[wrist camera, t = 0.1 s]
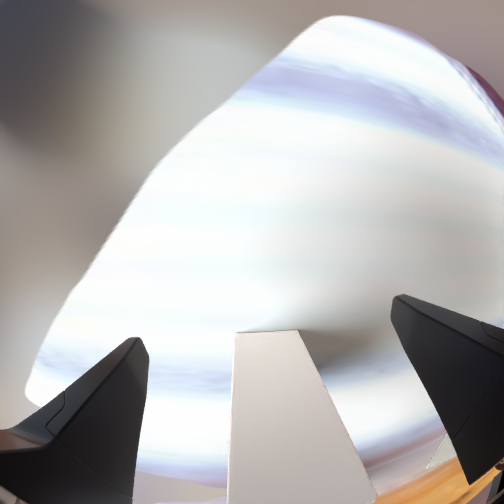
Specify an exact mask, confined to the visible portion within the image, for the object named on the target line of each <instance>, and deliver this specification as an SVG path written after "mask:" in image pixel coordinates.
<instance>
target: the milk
mask: <svg viewBox="0 0 504 504" xmlns="http://www.w3.org/2000/svg"><path fill="white" fill-rule="evenodd" d="M377 496H378V495H377V492H376V490H375V488H374V486H373V484H372V482H371V480H370V478H369V476H368V474H367V472H366V469H365V467H364V465H363V463H362V461H361V459H360V457H359V455H358V453H357V451H356V449H355V447H354V445H353V442H352V440H351V438H350V436H349V434H348V432H347V430H346V428H345V426H344V424H343V422H342V420H341V418H340V416H339V414H338V412H337V410H336V407H335V405H334V403H333V401H332V399H331V397H330V395H329V393H328V391H327V389H326V387H325V385H324V383H323V381H322V379H321V377H320V375H319V373H318V371H317V369H316V367H315V365H314V363H313V361H312V359H311V356H310V354H309V352H308V350H307V348H306V346H305V344H304V342H303V340H302V338H301V336H300V334H299V332H298V330H288V331H273V332H253V333H235V334H234V350H233V368H232V388H231V409H230V431H229V456H228V483H227V504H373V503H374V501H375V500H376V498H377Z"/></svg>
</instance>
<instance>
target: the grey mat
mask: <svg viewBox="0 0 504 504" xmlns="http://www.w3.org/2000/svg"><path fill="white" fill-rule="evenodd" d="M455 456H457V454H456V452H455V449H454V447H453V445H452V443H451V440H450V438H449V436H448V433H446V435H445V437H444V439H443V440H442V442H441V444H440V446H439V447H438V449H437V451H436V452H435V454H434V456H433V457H432V459H431V460H430V462H429V464H428V465H427V467H426V468H425V470H427V469H430V468H432V467H434V466H436V465H438V464H441V463H443V462H445V461H447V460H449V459H451V458H453V457H455Z"/></svg>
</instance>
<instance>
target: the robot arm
mask: <svg viewBox="0 0 504 504" xmlns="http://www.w3.org/2000/svg"><path fill="white" fill-rule="evenodd" d="M391 322H392V324H393V326H394V328H395V330H396V332H397V335H398V337H399V339H400V341H401V344H402V346H403V348H404V350H405V352H406V354H407V356H408V358H409V360H410V362H411V363H412V365H413V367H414V369H415V370H416V372H417V374H418V376H419V378H420V380H421V381H422V383H423V385H424V387H425V389H426V391H427V393H428V395H429V397H430V399H431V400H432V402H433V404H434V406H435V408H436V410H437V412H438V414H439V416H440V419H441V421H442V423H443V425H444V427H445V429H446V431H447V433H448V436H449V438H450V440H451V443H452V445H453V447H454V449H455V452H456V454H457V456H458V459H459V461H460V464H461V466H462V469H463V471H464V474H465V476H466V479H467V481H468V483H469V485H471V484H472V483H474V482H475V481H477V480H478V479H479V478H481V477H482V476H483V475H485V474H486V473H487V472H488V471H490V470H491V469H492V468H493V467H495V466H496V465H497V464H498V463H499V462H500V461H502V460H503V461H504V329H502V328H499V327H496V326H493V325H490V324H487V323H484V322H482V321H481V322H480V321H479V320H476V319H473V318H470V317H468V316H465V315H462V314H459V313H456V312H454V311H451V310H448V309H445V308H442V307H439V306H437V305H434V304H431V303H428V302H425V301H422V300H419V299H417V298H414V297H411V296H408V295H405V294H402V295H398V296H395V297H394V298H393V303H392V309H391ZM148 369H149V355H148V353H147V351H146V348H145V346H144V344H143V342H142V340H141V338H139V337H131V338H128V339H127V340H126V341H124V342H123V343H122V344H121V345H119V346H118V347H117V348H116V349H114V350H113V351H112V352H111V353H109V354H108V355H107V356H106V357H104V358H103V359H102V360H101V361H99V362H98V363H97V364H96V365H95V366H93V367H92V368H91V369H90V370H88V371H87V372H86V373H85V374H83V375H82V376H81V377H80V378H79V379H77V380H76V381H75V382H74V383H72V384H71V385H70V386H69V387H68V388H66V389H65V391H63V392H61V393H60V394H59V395H58V396H57V397H55V398H54V399H53V400H51V401H50V402H49V403H48V404H46V405H45V406H43V407H42V408H41V409H39V410H38V411H37V412H35V413H34V414H32V415H31V416H29V417H28V418H26V419H25V420H23V421H22V422H20V423H19V424H18V425H16V426H14V427H12V428H10V429H4V430H0V504H132V497H133V486H134V477H135V468H136V460H137V452H138V445H139V438H140V431H141V425H142V419H143V413H144V407H145V402H146V395H147V382H148ZM486 504H504V469H503V470H502V471H501V472H500V473H499V474H498V475H496V476H495V477H494V480H493V483H492V486H491V490H490V493H489V496H488V499H487V502H486Z"/></svg>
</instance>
